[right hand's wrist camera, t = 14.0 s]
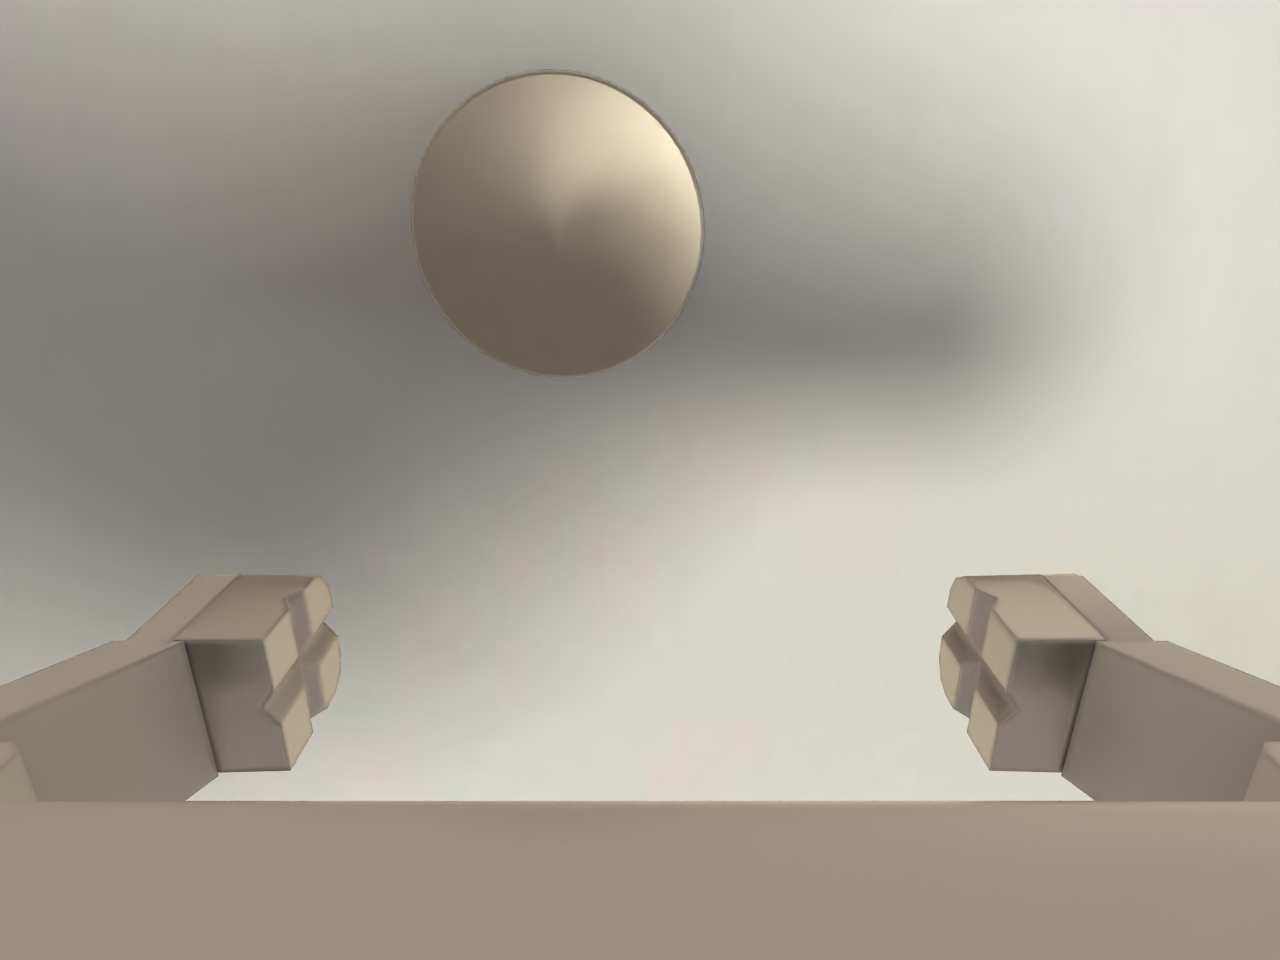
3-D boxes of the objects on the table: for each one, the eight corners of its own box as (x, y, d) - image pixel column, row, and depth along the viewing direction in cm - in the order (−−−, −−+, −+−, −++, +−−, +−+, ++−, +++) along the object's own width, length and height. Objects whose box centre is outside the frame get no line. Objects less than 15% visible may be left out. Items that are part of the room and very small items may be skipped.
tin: (704, 313, 17) (722, 354, 13) (496, 347, 18) (451, 398, 14) (672, 77, 16) (682, 41, 12) (443, 120, 16) (373, 99, 12)
